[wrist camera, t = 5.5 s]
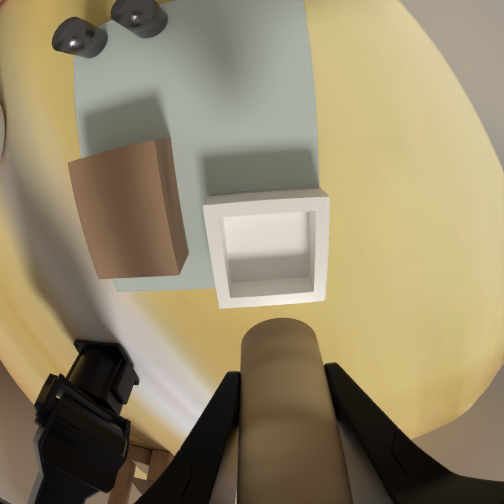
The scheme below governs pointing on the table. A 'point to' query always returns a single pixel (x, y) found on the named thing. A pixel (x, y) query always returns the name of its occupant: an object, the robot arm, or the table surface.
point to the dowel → (287, 420)
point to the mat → (207, 108)
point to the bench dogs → (95, 39)
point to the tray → (268, 245)
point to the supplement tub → (2, 131)
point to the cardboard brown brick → (131, 210)
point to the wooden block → (125, 476)
